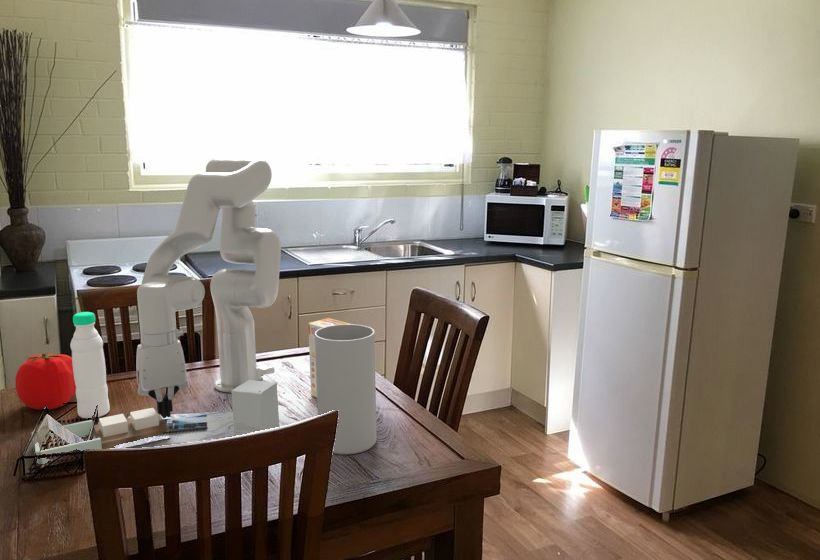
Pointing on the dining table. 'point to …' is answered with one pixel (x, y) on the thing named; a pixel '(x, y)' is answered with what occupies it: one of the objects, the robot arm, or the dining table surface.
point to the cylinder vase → (348, 383)
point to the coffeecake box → (312, 329)
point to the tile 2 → (144, 418)
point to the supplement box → (255, 406)
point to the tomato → (45, 381)
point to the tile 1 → (113, 425)
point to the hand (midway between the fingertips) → (165, 415)
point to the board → (130, 434)
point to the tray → (79, 430)
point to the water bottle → (89, 367)
